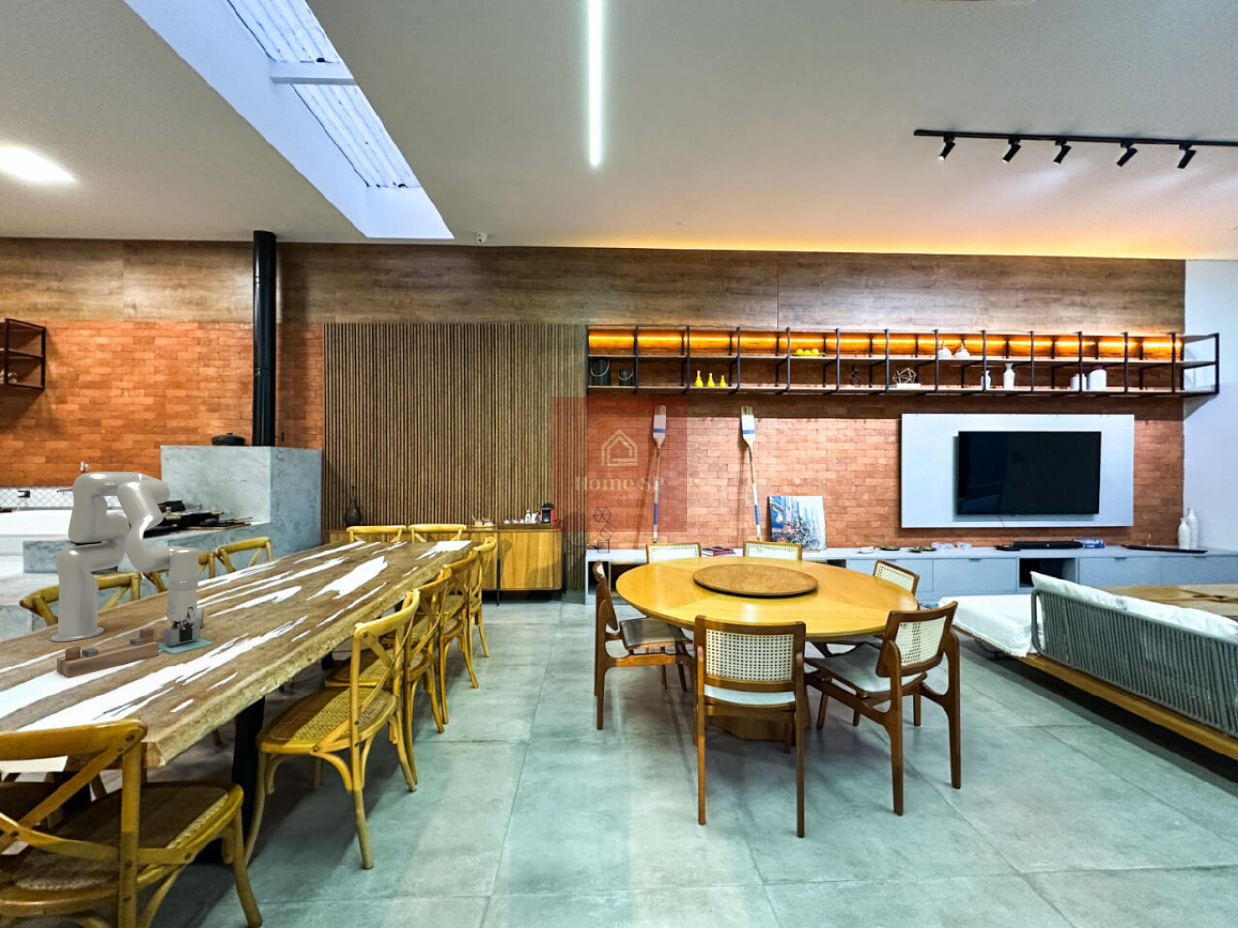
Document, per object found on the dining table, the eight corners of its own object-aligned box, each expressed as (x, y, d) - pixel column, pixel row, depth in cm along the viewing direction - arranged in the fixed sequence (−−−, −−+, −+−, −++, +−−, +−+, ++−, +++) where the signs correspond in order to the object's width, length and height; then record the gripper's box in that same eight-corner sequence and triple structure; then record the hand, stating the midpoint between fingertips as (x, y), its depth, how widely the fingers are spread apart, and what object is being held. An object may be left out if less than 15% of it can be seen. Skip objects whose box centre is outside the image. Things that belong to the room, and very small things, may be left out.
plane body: (56, 671, 147) (57, 644, 147) (145, 650, 165) (145, 625, 165) (68, 677, 143) (69, 649, 143) (158, 655, 161) (158, 630, 161)
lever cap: (163, 643, 168) (163, 625, 168) (192, 636, 175) (193, 619, 175) (170, 645, 165) (171, 628, 165) (199, 638, 172) (200, 621, 172)
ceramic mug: (204, 629, 187) (204, 608, 187) (174, 633, 182) (175, 612, 182) (202, 622, 195) (203, 602, 195) (174, 626, 190) (175, 606, 190)
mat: (150, 646, 169) (150, 644, 169) (190, 636, 178) (190, 635, 178) (173, 654, 161) (173, 652, 161) (213, 644, 171) (213, 642, 171)
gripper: (157, 584, 171) (155, 638, 170) (182, 590, 163) (180, 647, 163) (184, 580, 177) (183, 632, 177) (209, 586, 170) (208, 640, 169)
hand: (182, 638), depth 170 cm, fingers closed on lever cap, 4 cm apart
